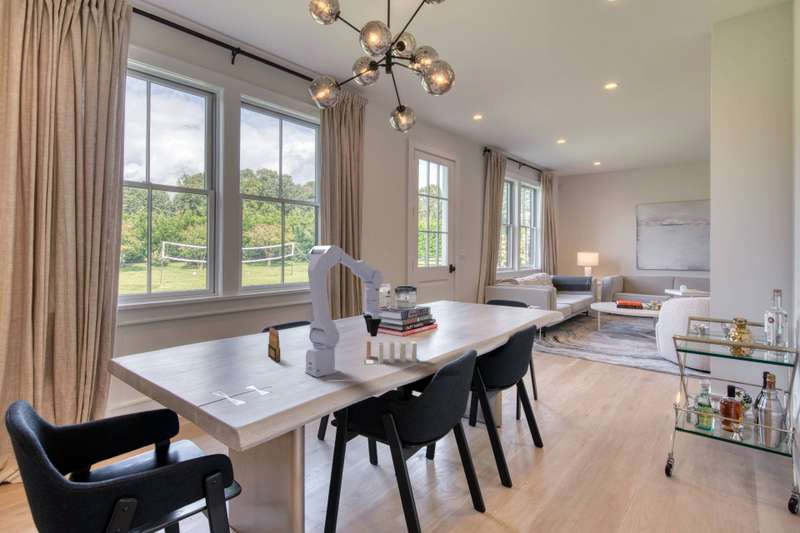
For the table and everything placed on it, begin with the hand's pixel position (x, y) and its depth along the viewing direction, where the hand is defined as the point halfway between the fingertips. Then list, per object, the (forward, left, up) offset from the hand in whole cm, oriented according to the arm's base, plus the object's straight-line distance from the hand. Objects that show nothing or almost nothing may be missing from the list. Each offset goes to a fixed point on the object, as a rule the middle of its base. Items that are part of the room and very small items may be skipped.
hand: (372, 334), depth 161 cm
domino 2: (+2, -10, -9) cm, 13 cm away
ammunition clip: (-29, +25, -10) cm, 39 cm away
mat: (+2, -10, -9) cm, 14 cm away
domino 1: (-2, -7, -9) cm, 12 cm away
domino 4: (+9, -14, -9) cm, 19 cm away
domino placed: (-1, +1, -10) cm, 10 cm away
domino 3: (+5, -12, -9) cm, 16 cm away
